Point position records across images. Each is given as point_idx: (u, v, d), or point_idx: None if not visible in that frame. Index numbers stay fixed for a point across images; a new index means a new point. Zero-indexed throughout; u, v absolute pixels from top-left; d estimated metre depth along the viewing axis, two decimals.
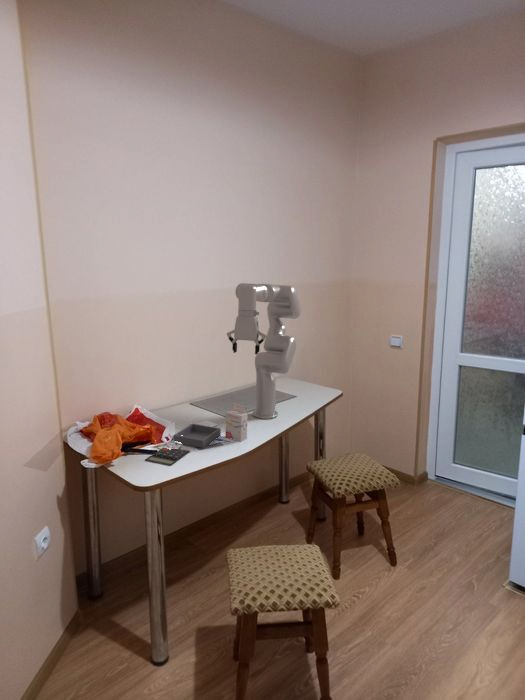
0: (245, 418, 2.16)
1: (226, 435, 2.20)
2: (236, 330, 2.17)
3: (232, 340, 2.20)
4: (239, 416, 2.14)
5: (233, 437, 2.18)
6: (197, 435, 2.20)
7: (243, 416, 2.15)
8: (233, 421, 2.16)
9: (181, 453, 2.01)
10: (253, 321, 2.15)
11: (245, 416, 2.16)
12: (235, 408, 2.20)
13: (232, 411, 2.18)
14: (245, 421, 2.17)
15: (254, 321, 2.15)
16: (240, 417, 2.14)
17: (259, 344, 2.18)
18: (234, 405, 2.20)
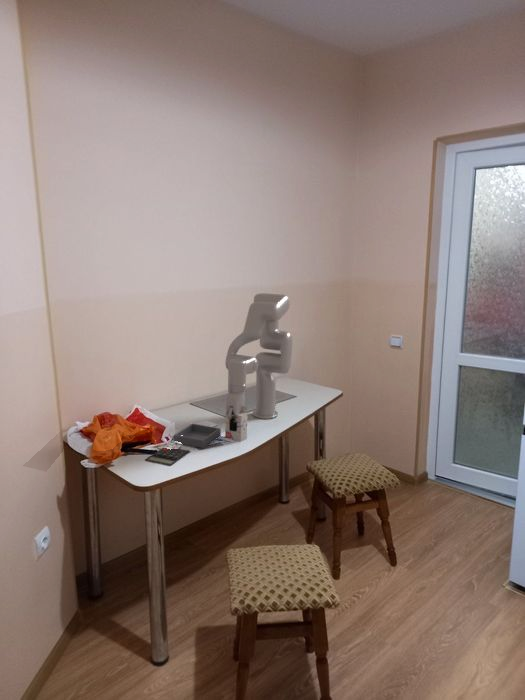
0: (245, 418, 2.16)
1: (226, 435, 2.20)
2: (237, 407, 2.12)
3: None
4: (239, 416, 2.14)
5: (233, 437, 2.18)
6: (197, 435, 2.20)
7: (243, 416, 2.15)
8: None
9: (181, 453, 2.01)
10: (244, 392, 2.18)
11: (245, 416, 2.16)
12: None
13: None
14: (245, 421, 2.16)
15: (244, 392, 2.19)
16: (240, 417, 2.14)
17: None
18: None
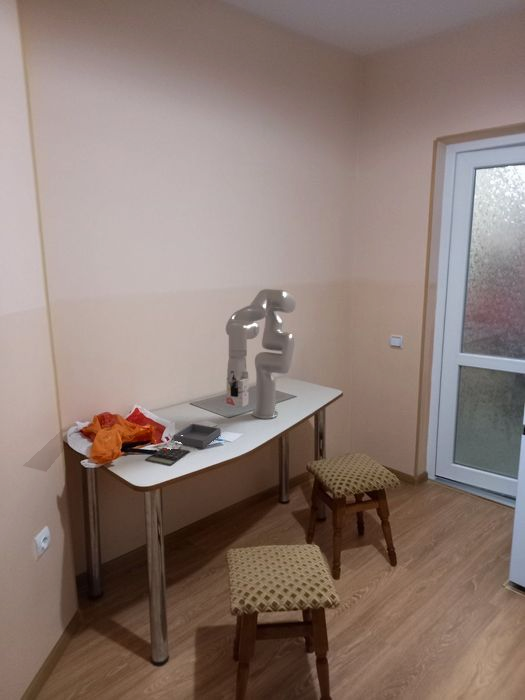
0: (246, 383, 2.14)
1: (227, 401, 2.17)
2: (238, 372, 2.10)
3: (234, 385, 2.11)
4: (240, 381, 2.11)
5: (234, 403, 2.15)
6: (197, 435, 2.20)
7: (244, 381, 2.12)
8: None
9: (181, 453, 2.01)
10: (245, 358, 2.15)
11: (246, 381, 2.13)
12: None
13: None
14: (246, 387, 2.14)
15: (245, 358, 2.16)
16: (241, 382, 2.11)
17: None
18: None
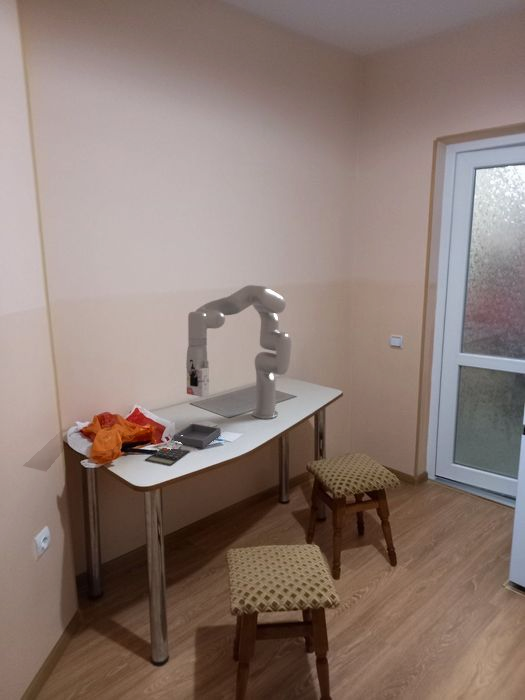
0: (206, 373, 2.09)
1: (187, 391, 2.12)
2: (197, 360, 2.05)
3: (194, 374, 2.07)
4: (200, 370, 2.07)
5: (194, 393, 2.11)
6: (197, 435, 2.20)
7: (204, 370, 2.07)
8: None
9: (181, 453, 2.01)
10: (206, 347, 2.11)
11: (206, 371, 2.09)
12: None
13: None
14: (206, 376, 2.09)
15: (206, 347, 2.12)
16: (201, 371, 2.07)
17: None
18: None
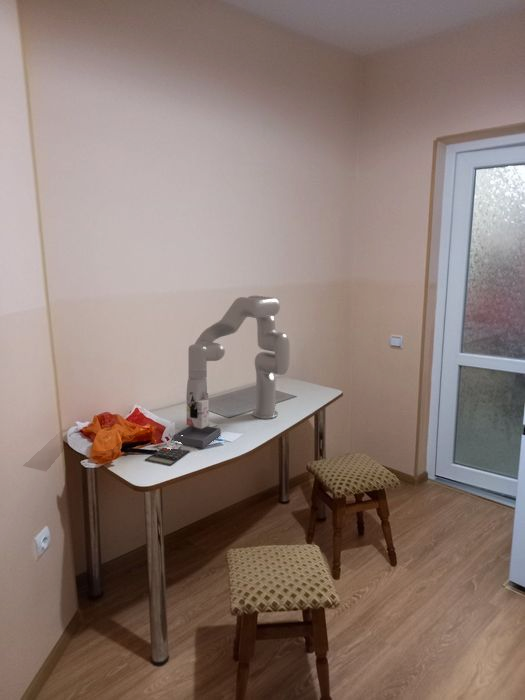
0: (206, 405, 2.12)
1: (187, 422, 2.15)
2: (197, 393, 2.08)
3: (194, 406, 2.09)
4: (199, 403, 2.09)
5: (194, 424, 2.13)
6: (197, 435, 2.20)
7: (204, 403, 2.10)
8: None
9: (181, 453, 2.01)
10: None
11: (206, 403, 2.11)
12: None
13: None
14: (206, 408, 2.12)
15: None
16: (200, 404, 2.09)
17: None
18: None
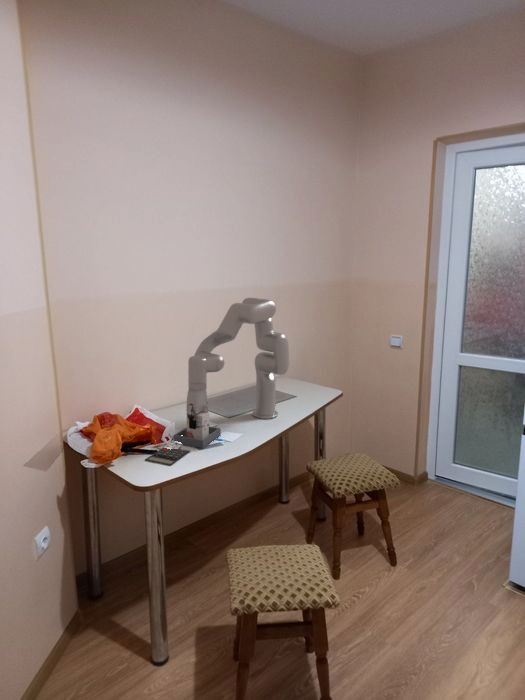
0: (206, 418, 2.13)
1: (187, 435, 2.16)
2: (197, 404, 2.09)
3: (193, 417, 2.09)
4: (200, 416, 2.11)
5: (194, 437, 2.14)
6: None
7: (204, 416, 2.11)
8: None
9: (181, 453, 2.01)
10: None
11: (206, 416, 2.13)
12: None
13: (193, 411, 2.15)
14: (206, 421, 2.13)
15: None
16: (201, 417, 2.11)
17: None
18: None
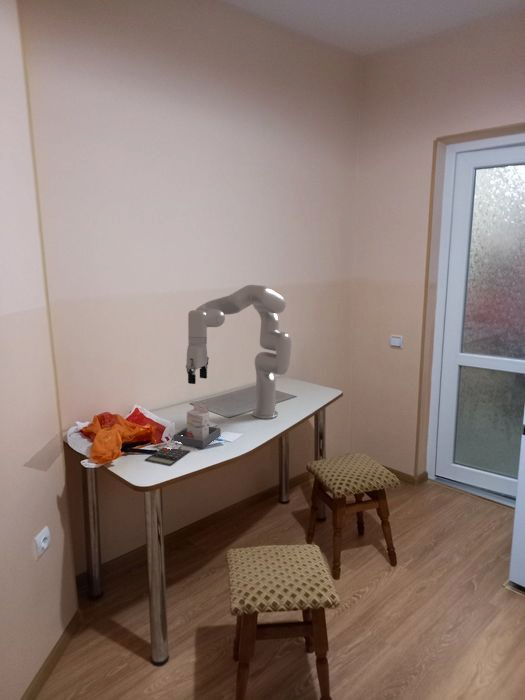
0: (206, 418, 2.13)
1: (187, 435, 2.16)
2: (197, 359, 2.05)
3: (192, 371, 2.05)
4: (200, 416, 2.11)
5: (194, 437, 2.14)
6: None
7: (204, 416, 2.12)
8: (194, 421, 2.13)
9: (181, 453, 2.01)
10: (206, 346, 2.11)
11: (206, 416, 2.13)
12: (196, 408, 2.17)
13: (193, 411, 2.15)
14: (206, 421, 2.13)
15: None
16: (201, 417, 2.11)
17: None
18: (195, 405, 2.17)
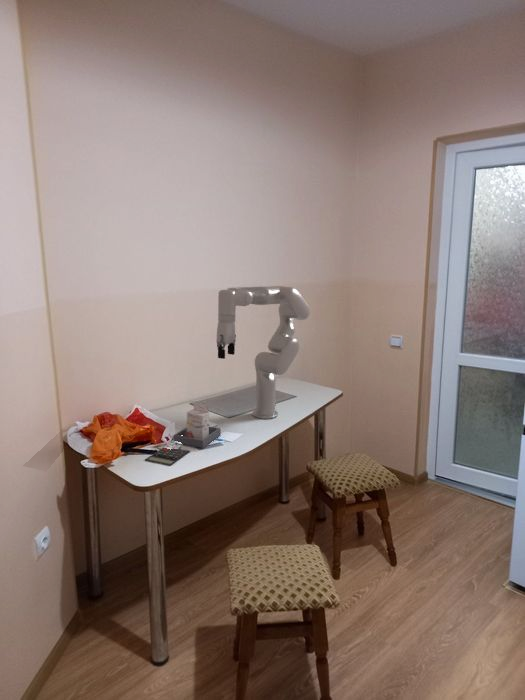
0: (206, 418, 2.13)
1: (187, 435, 2.16)
2: (227, 335, 2.20)
3: (222, 347, 2.19)
4: (200, 416, 2.11)
5: (194, 437, 2.14)
6: None
7: (204, 416, 2.12)
8: (194, 421, 2.13)
9: (181, 453, 2.01)
10: (234, 323, 2.25)
11: (206, 416, 2.13)
12: (196, 408, 2.17)
13: (193, 411, 2.15)
14: (206, 421, 2.13)
15: (234, 323, 2.26)
16: (201, 417, 2.11)
17: None
18: (195, 405, 2.17)
